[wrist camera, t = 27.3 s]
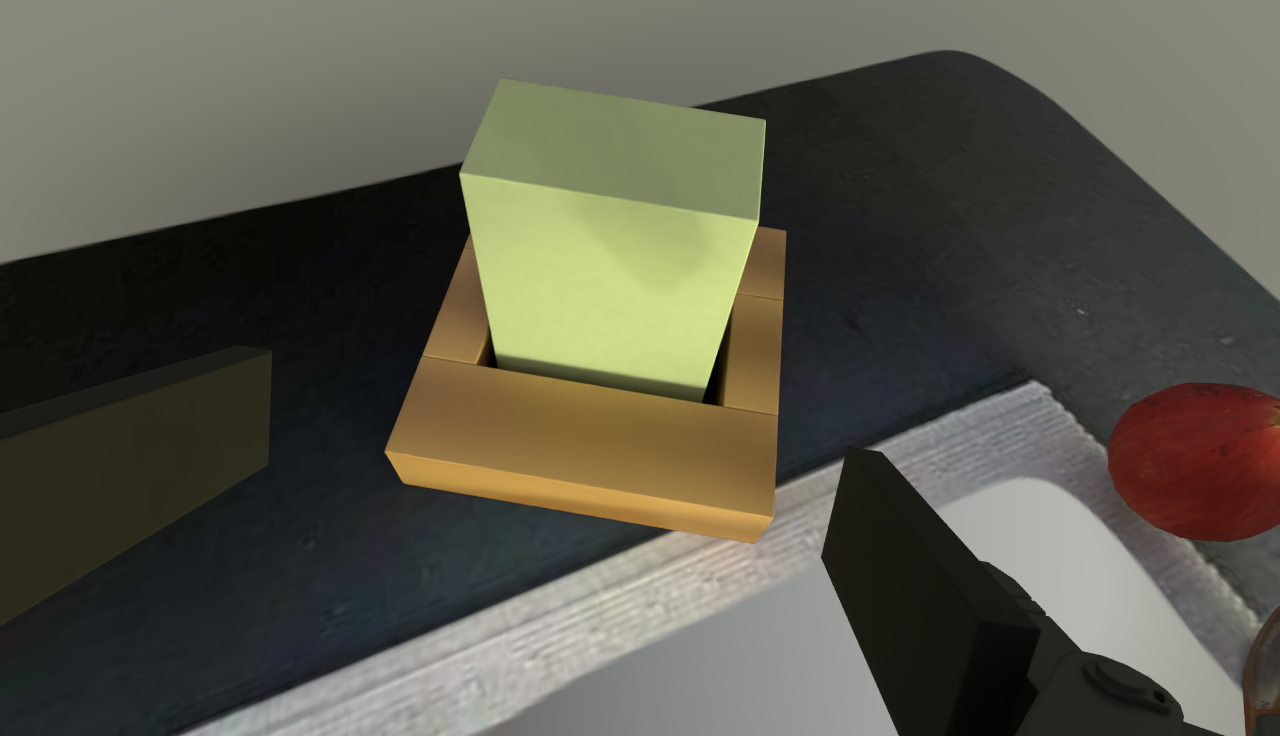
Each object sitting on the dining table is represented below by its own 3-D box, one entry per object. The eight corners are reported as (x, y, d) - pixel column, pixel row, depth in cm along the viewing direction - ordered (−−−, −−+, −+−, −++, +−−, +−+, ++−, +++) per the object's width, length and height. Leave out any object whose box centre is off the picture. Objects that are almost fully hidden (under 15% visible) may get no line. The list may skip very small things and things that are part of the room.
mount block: (755, 544, 26) (774, 518, 23) (402, 483, 26) (383, 451, 24) (771, 272, 33) (786, 230, 31) (496, 227, 34) (489, 181, 31)
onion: (1047, 431, 30) (1184, 326, 23) (1171, 439, 30) (1343, 338, 23) (1089, 561, 27) (1262, 485, 20) (1227, 569, 27) (1445, 497, 20)
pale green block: (696, 421, 29) (759, 221, 18) (501, 388, 29) (458, 173, 19) (705, 336, 31) (766, 118, 21) (526, 306, 31) (499, 76, 21)
